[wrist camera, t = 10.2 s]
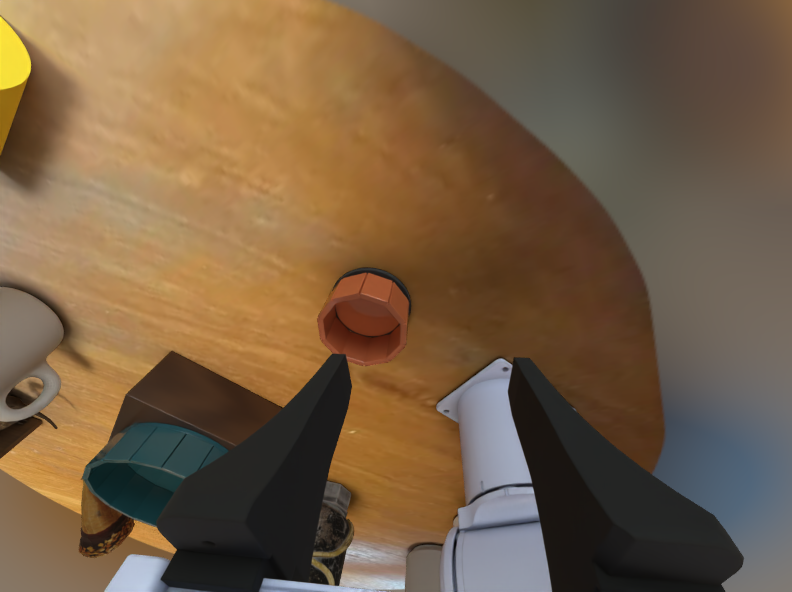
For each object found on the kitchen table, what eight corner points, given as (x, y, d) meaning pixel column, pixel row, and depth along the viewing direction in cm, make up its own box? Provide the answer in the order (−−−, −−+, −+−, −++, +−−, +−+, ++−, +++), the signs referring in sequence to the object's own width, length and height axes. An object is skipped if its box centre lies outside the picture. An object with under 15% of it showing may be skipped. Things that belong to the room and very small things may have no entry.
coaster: (427, 299, 23) (427, 302, 22) (380, 346, 25) (379, 349, 25) (359, 251, 21) (358, 253, 21) (317, 307, 24) (316, 310, 24)
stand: (297, 415, 31) (276, 464, 27) (249, 466, 37) (226, 512, 33) (171, 350, 28) (125, 394, 24) (141, 417, 34) (100, 462, 30)
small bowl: (426, 300, 22) (426, 327, 19) (378, 348, 25) (372, 378, 22) (359, 253, 21) (348, 275, 18) (317, 310, 24) (302, 337, 21)
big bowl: (267, 464, 27) (249, 504, 24) (222, 508, 33) (204, 545, 30) (131, 401, 24) (94, 439, 21) (107, 462, 30) (75, 498, 27)
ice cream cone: (47, 475, 40) (79, 544, 46) (54, 508, 36) (87, 577, 42) (111, 447, 44) (132, 513, 50) (122, 474, 41) (143, 541, 47)
